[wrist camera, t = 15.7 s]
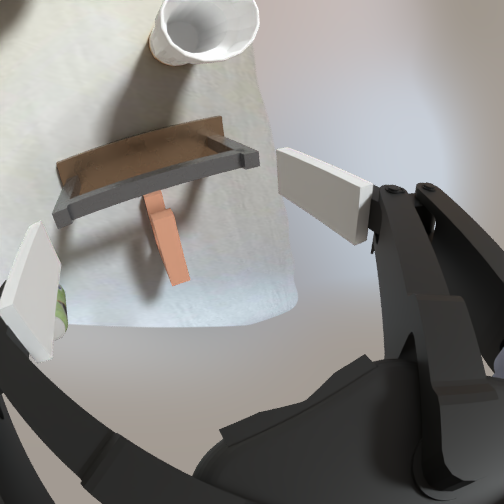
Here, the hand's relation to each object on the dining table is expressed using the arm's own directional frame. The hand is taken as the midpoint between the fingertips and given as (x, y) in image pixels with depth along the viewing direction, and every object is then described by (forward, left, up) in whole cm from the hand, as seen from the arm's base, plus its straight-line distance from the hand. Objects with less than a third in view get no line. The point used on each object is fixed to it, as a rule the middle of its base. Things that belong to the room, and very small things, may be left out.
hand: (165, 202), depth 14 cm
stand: (+4, -4, -35) cm, 35 cm away
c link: (+10, -14, -35) cm, 39 cm away
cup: (+2, +16, -35) cm, 39 cm away
